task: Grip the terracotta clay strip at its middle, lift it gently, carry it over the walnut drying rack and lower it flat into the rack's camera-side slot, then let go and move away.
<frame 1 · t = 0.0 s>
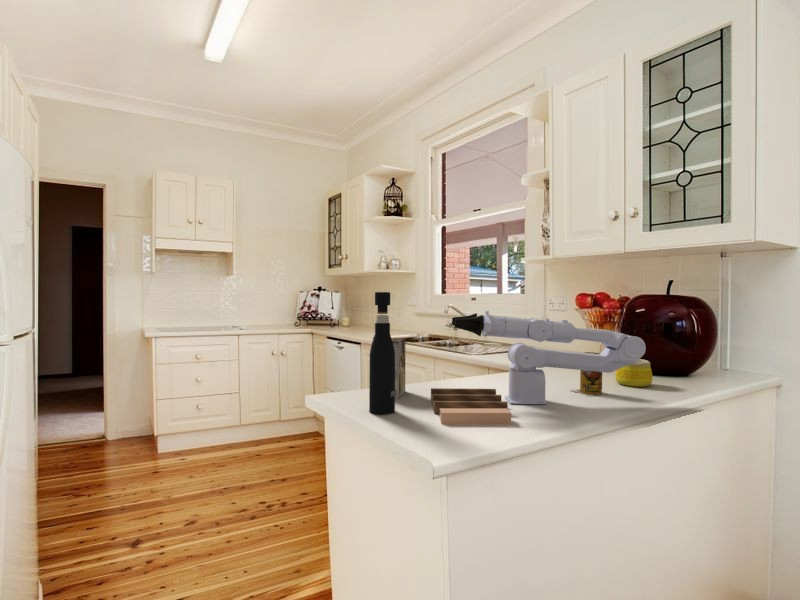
hand: (453, 322, 132), 22 cm above the countertop, tool horizontal, fingers open, 7 cm apart
condiment: (589, 393, 145), on the countertop
yellow round container: (632, 384, 158), on the countertop
clay strip: (474, 423, 113), on the countertop
coffee box: (392, 394, 141), on the countertop
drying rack: (466, 406, 127), on the countertop
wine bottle: (382, 412, 121), on the countertop
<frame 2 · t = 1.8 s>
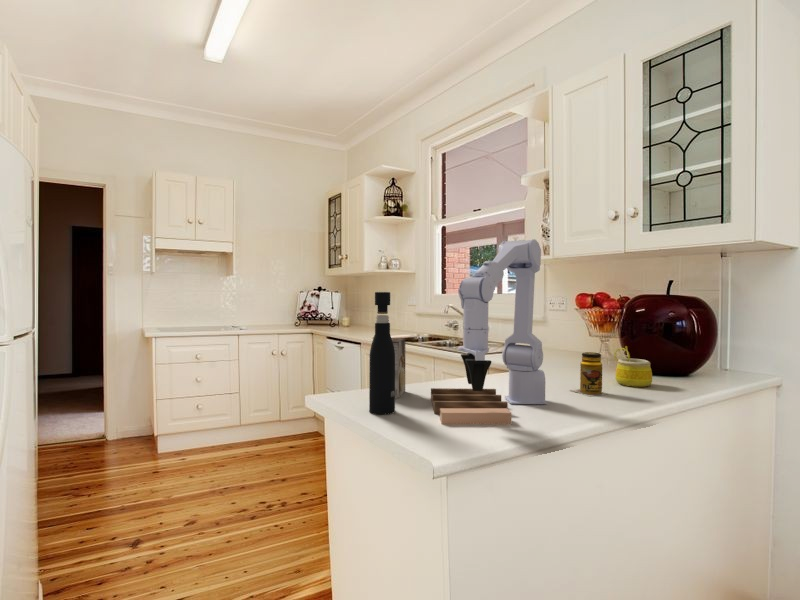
hand: (475, 387, 112), 8 cm above the countertop, tool pointing down, fingers open, 7 cm apart
nothing on the countertop moved.
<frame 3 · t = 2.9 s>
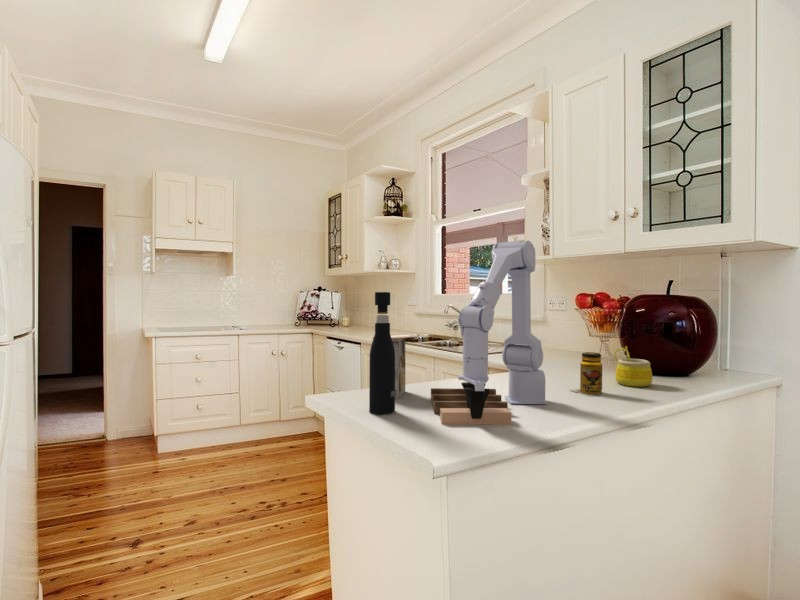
hand: (474, 415, 112), 1 cm above the countertop, tool pointing down, fingers closed on clay strip, 4 cm apart
clay strip: (475, 423, 113), on the countertop, touching gripper
everything else where it was.
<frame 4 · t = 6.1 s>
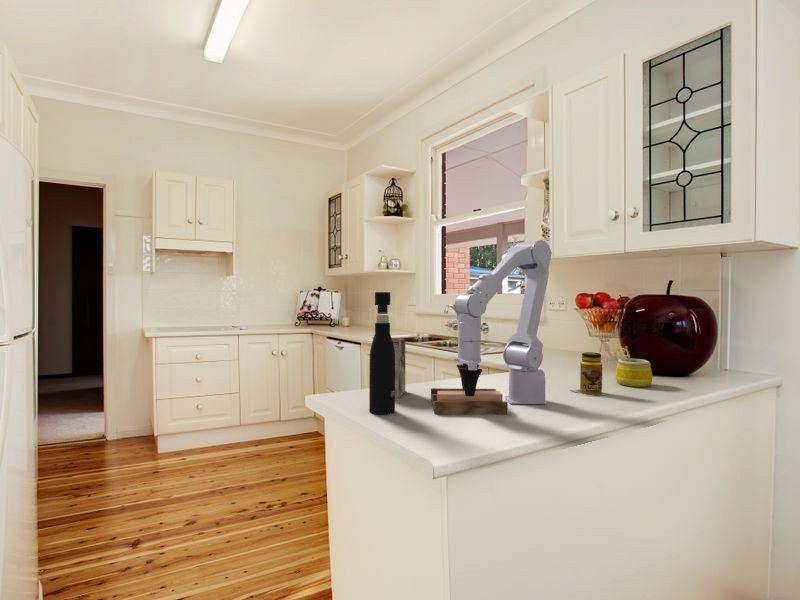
hand: (468, 394, 123), 4 cm above the countertop, tool pointing down, fingers closed on clay strip, 3 cm apart
clay strip: (469, 404, 123), point 1 cm above the countertop, touching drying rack, gripper
everything else where it was.
when the fingers open (4 cm above the countertop, at t = 6.5 s): clay strip stays where it is, resting on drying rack.
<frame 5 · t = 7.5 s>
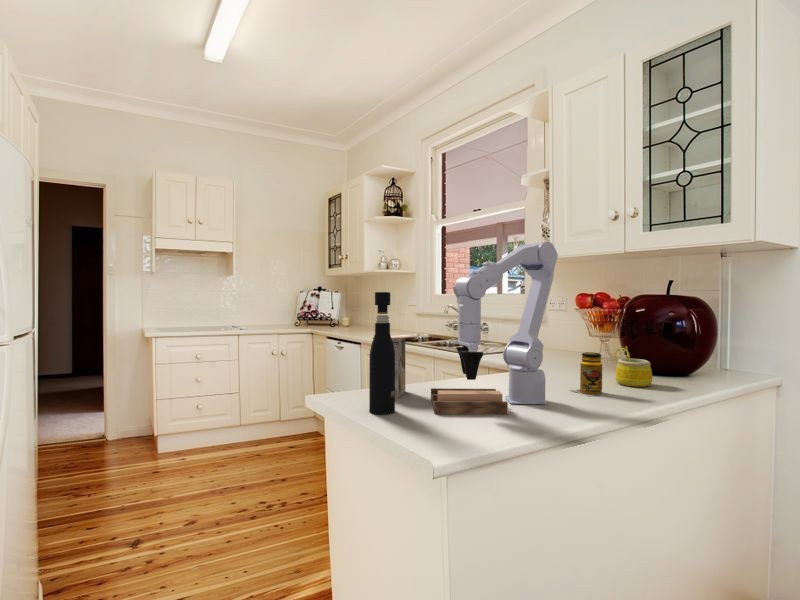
hand: (469, 376, 123), 9 cm above the countertop, tool pointing down, fingers open, 7 cm apart
clay strip: (469, 404, 123), point 1 cm above the countertop, touching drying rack
everything else where it was.
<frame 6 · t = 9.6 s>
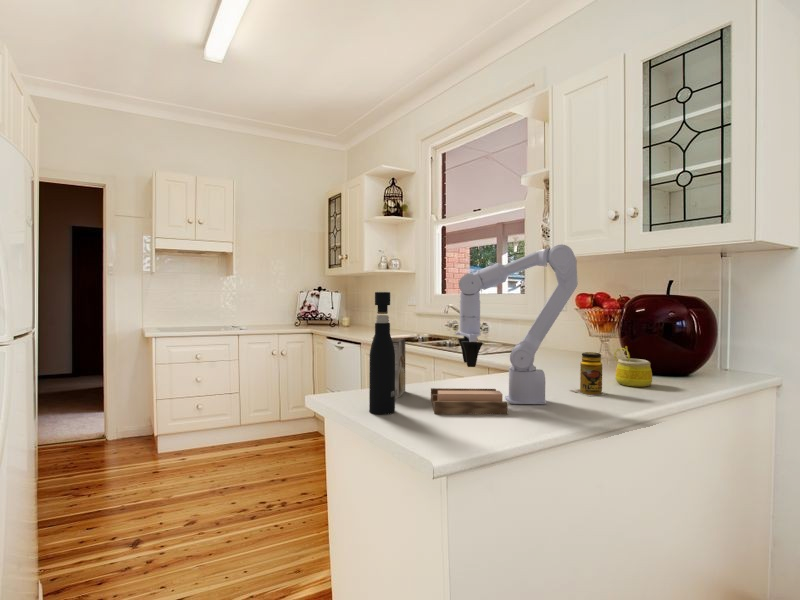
hand: (469, 364, 137), 9 cm above the countertop, tool pointing down, fingers open, 7 cm apart
nothing on the countertop moved.
at the end: clay strip 0.2 cm from the target spot, point 1.5 cm above the countertop; clay strip tilted 0°; the gripper is holding nothing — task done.
